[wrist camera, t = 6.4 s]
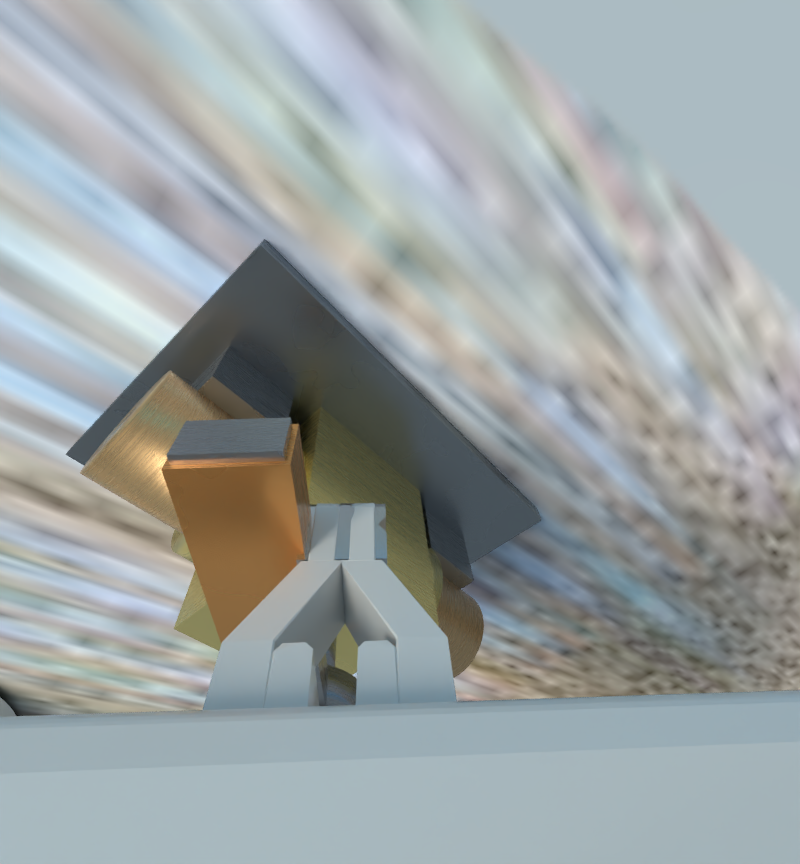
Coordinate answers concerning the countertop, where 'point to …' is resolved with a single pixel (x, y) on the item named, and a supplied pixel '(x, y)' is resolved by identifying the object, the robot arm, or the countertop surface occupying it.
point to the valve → (315, 441)
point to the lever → (245, 519)
